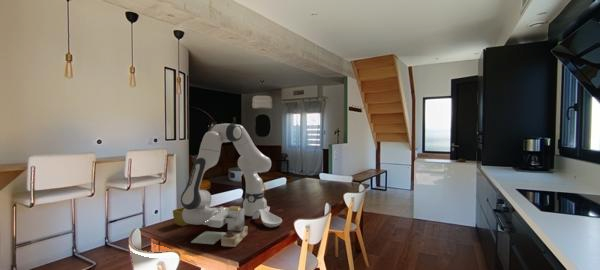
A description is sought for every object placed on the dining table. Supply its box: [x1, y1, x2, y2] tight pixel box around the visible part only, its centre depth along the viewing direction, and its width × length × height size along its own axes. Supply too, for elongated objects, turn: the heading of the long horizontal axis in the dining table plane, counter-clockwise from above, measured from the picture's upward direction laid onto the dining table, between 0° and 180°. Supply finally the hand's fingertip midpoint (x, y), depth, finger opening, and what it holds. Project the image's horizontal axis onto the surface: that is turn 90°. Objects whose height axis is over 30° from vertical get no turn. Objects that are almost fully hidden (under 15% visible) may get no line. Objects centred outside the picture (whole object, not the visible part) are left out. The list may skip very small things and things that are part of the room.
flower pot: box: [172, 206, 190, 227], centre depth 162 cm, size 9×9×9 cm
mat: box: [190, 230, 227, 245], centre depth 142 cm, size 14×12×1 cm
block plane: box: [220, 225, 249, 248], centre depth 140 cm, size 17×7×6 cm, turn 170°
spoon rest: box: [251, 209, 283, 228], centre depth 165 cm, size 24×12×7 cm, turn 43°
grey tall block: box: [227, 205, 245, 231], centre depth 141 cm, size 5×7×11 cm
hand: (237, 218), depth 141 cm, fingers closed on grey tall block, 5 cm apart
